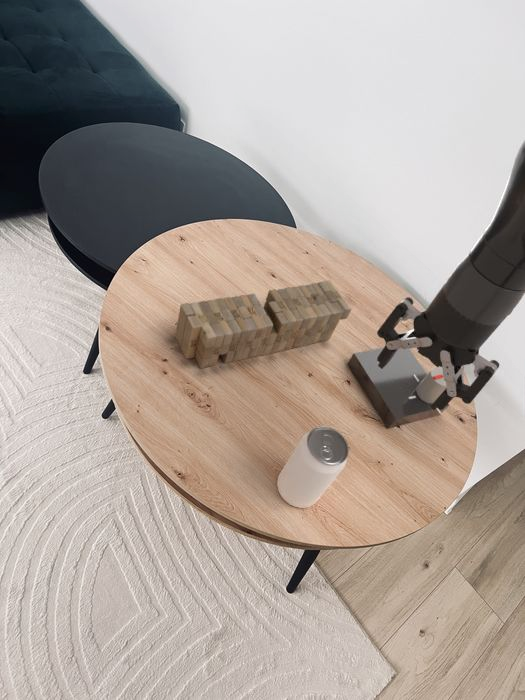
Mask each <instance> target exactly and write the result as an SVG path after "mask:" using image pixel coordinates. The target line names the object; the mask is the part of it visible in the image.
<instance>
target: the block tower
mask: <svg viewBox="0 0 525 700" xmlns="http://www.w3.org/2000/svg"><path fill="white" fill-rule="evenodd" d="M351 311H352V307H351V306H350V305H349V303H348V302H347V301H346V299H345V298H344V296H343V295H342V294H341V292H340V291H339V290H338V289H337V287H336V286H335V285H334V284H333V282H332V281H331V280H323V281H319V282H313V283H311V284H305V285H303V284H302V285H298V286H291V287H284V288H279V289H275V288H274V289H269V290H268V292H267V295H266V298H265V302H264V305H262V304H261V302H260V300H259V299H258V297H257V295H256V294H255V293H249V294H241V295H239V296H238V295H236V296H235V295H234V296H231V297H230V296H228V297H219V298H215V299H207V300H201V301H198V302H196V301H195V302H191V303H190V302H185V303H181V304H180V307H179V312H178V318H177V323H176V329H175V336H174V337H175V339H176V341H177V343H178V345H179V346H180V349H181V350H180V351H181V352H182V353H183V355H184V357H185V359H188V360H189V359H192V358H195V361H196V362H197V364H198V366H199V368H200V369H206V368H208V367H214V366H217V364H218V360H219V357H220V358H221V359H222V361H223V363H224V364H227V363H231V362H237V361H241V360H247V359H248V358H249V359H250V358H254V357H260V356H266V355H270V354H274V353H277V352H281V351H284V350H285V351H287V350H290V349H295V348H300V347H304V346H308V345H313V344H316V343H319V342H323V341H324V342H325V341H329V340H330V339H331V338H332V336H333V334H334V332H335V330H336V328H337V326H338V324H339V323H340V320H342V321H343V320H346V319H348V317H349V316H350V313H351Z"/></svg>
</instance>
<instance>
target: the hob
mask: <svg viewBox="0 0 525 700" xmlns="http://www.w3.org/2000/svg"><path fill="white" fill-rule="evenodd" d="M383 348H384V347H381V348H374V349H369V350H364V351H358V352H354V353H353V354H352V356H350V359H349V360H348V361H347V366H348V367H349V369H350V371H351V372H352V374H353V375H354V377H355V378H356V380H357V382H358V383H359V386H360V387H361V388H362V390H363V392H364V393H365V395H366V396H367V398H368V399H369V401H370V403H371V404H372V406H373V407H374V409H375V411H376V412H377V414H378V416H379V418H380V419H381V421H382V422H383V424H384V426H385V427H386V428H387V430H389V429H392V428H396V427H400V426H403V425H404V426H405V425H407V424H411V423H414V422H419V421H422V420H427V419H429V418H432V417H433V418H434V417H436V415H437V416H440V415H441V414H443V412H444V411H445V410H446V409H447V408H448V407H449V406H450V403H448V404H447V405H446V406H445V407H444V409H442V410H439V409H438V408H436V409H435V410H433V409H431V408H430V406H431V405H432V404H433V403H432V404H431V403H427V402H424V401H423V400H422V399H420V397H419V396H418V395H417V392H416V389H417V386H418V385H419V384H420V383H421V382H422V380H423V379H424V378H425V377H426V375H427V374H428V373H427V372H426V370H425V369H424V367H423V365H422V364H421V363H420V362H419V360H418V359H417V358H416V356H415V355H414V354H413V352H412V351H411V348H410V349H403V348H400V349H398V350H397V351H396V353H395V354H394V356H393V357H392V358H391V360H390V361H389V362H388V364H387V365H386V366H385V367H384V368H383V369H381V368H380V367H379V366H378V365H379V363H380V362H378V361H377V358H378V356H379V355H380V353H381V351H382V350H383Z"/></svg>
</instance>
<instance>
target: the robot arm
mask: <svg viewBox="0 0 525 700" xmlns="http://www.w3.org/2000/svg"><path fill="white" fill-rule="evenodd" d="M524 295H525V140H524V141H523V142H522V144H521V145H520V147H519V149H518V151H517V154H516V156H515V159H514V161H513V164H512V167H511V170H510V173H509V177H508V179H507V182H506V185H505V188H504V191H503V193H502V195H501V198H500V200H499V204H498V206H497V208H496V210H495V213H494V214H493V217H492V219H491V222H490V223H489V225H488V226H487V227H486V228H485V230H484V231H483V233H482V234H481V235H480V237H479V238H478V239H477V242H476V243H475V244H474V245H473V247H472V248H471V250H470V251H469V252H468V254H467V255H466V256H465V257H464V258H463V259H462V260H461V261H460V262H459V263H457V266H456V267H455V268H454V270H452V272H451V274H450V275H449V277H448V278H447V279H446V281H445V282H444V283H443V285H442V286H441V288H440V290H439V291H438V292H437V294H436V295H435V296H434V298H433V299H432V301H430V304H429V305H428V307H426V309H425V310H424V311H420V310H419V309H418V308H417V307H415V306H414V300H413V298H412V297H409V296H408V297H405V298H404V299H403V300H401V301H400V303H398V304H397V305H396V306H394V308H393V310H392V311H391V312H390V314H389V315H388V317H387V318H386V319H385V321H384V322H383V324H381V326H380V327H379V329H378V330H377V332H376V334H377V336H378V337H379V338H381V339H383V340H384V342H385V346H384V347H382V348H383V350H382V351H381V353H380V355H379V356H378V358H377V361H378V362H380V363H379V365H378V366H379V367H380V368H381V369H383V368H384V367H385V366H386V365H387V364H388V362H389V361H390V360H391V358H392V357H393V356H394V354H395V353H396V351H397V350H398V349H400V348H403V349H410V350H411V349H417V350H418V351H417V353H418V354H419V355H420V356H422V357H424V358H426V359H428V361H430V363H432V365H434V367H440V368H443V377H444V381H446V389H445V390H444V391H443V392H442V393H441V394H440V396H439V397H438V398H437V399H436V400H435V401H434V403H433V404H432V405H431V406H430V408H431V409H433V410H435V409H436V408H438V409H439V410H442V409H444V407H445V406H446V405H447V404H450V402H451V401H452V400H453V399H454V398H459V399H461V400H462V402H463V403H465V404H467V405H468V404H471V403H472V402H473V401H474V399H475V398H476V397H477V396H478V395H479V393H480V392H481V391H482V390H483V388H484V387H485V386H486V385H487V383H488V382H489V381H490V380H491V379H492V378H493V376H494V375H495V374H496V372H497V370H498V369H499V368H500V362H499V361H497V360H495V359H491V360H488V359H486V358H485V357H483V356H482V355H480V348H481V347H482V346H483V345H484V344H485V342H487V340H488V339H489V338H490V337H491V336H492V334H493V333H494V332H495V331H496V330H497V329H498V328H499V326H501V324H502V323H503V322H504V321H505V319H506V318H508V316H509V315H511V314H512V312H513V311H514V310H515V308H516V307H517V306H518V304H519V303H520V302H521V300H522V298H523V297H524ZM408 320H413V323H412V324H413V325H412V326H413V328H412V329H410V330H408V331H403V332H398V331H396V329H395V328H396V326H397V325H398V324H399V323H400V322H401V321H402V322H406V321H408ZM471 364H472V365H473V366H474V370H473V374H474V377H475V379H474V381H472V383H471V384H470V385H467V384H465V380H464V371H465V366H468V365H471Z"/></svg>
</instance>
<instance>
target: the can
mask: <svg viewBox="0 0 525 700" xmlns="http://www.w3.org/2000/svg"><path fill="white" fill-rule="evenodd" d="M349 451H350V449H349V445H348V442H347V440H346V438H345V437H344V435H343V434H342V433H340V432H339V431H338V430H336V429H334V428H333V427H330V426H325V425H320V426H316V427H314V428H313V429H311V430H310V431H307V432H306V433H305V434H304V435H303V437H302V438H301V439H300V441H299V442H298V444H297V445H296V447H295V448H294V450H293V452H292V453H291V455H290V456H289V458H288V459H287V462H286V463H285V464H284V465H283V468H282V469H281V471H280V473H279V474H278V477H277V482H276V485H277V490H278V492H279V495H280V497H281V498H282V499H283V500H284V501H285V502H286V503H287V504H289V505H290V506H293V507H295V508H301V509H306V508H309V507H312V506H313V505H315V504H316V503H317V502H318V501H319V499H320V498H321V497H322V496H323V495H324V493H325V492H326V491H327V489H328V488H329V487H330V486H331V484H332V483H333V482H334V481H335V479H336V478H337V477H338V476H339V474H340V473H341V472H342V471H343V469H344V468H345V467H346V464H347V461H348V457H349V453H350V452H349Z"/></svg>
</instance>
